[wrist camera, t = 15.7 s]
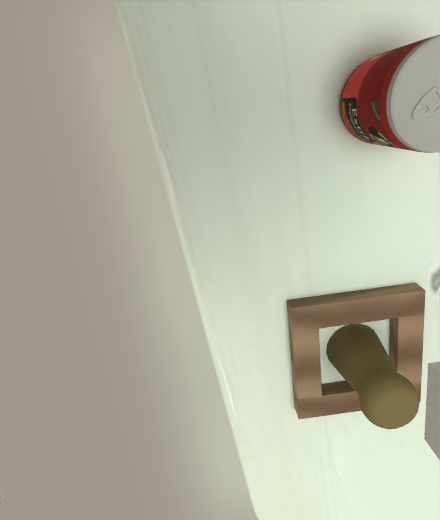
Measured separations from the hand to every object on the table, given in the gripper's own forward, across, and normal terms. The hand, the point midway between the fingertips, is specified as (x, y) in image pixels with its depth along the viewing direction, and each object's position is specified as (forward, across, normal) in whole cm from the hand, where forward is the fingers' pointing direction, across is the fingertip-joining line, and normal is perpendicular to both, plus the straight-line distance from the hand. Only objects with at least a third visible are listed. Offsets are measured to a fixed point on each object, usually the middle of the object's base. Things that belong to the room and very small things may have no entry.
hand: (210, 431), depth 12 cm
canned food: (+31, +18, +8) cm, 37 cm away
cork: (+31, +15, -18) cm, 39 cm away
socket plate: (+31, +15, -18) cm, 39 cm away
